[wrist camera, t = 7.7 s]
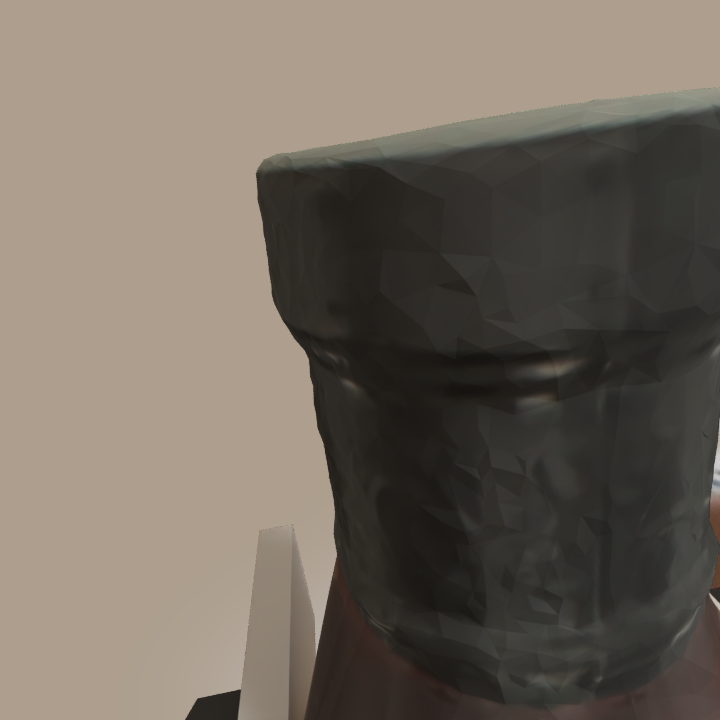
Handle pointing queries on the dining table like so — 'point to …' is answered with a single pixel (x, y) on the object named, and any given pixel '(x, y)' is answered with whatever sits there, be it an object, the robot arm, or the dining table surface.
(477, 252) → the sauce bottle
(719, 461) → the dining table surface
